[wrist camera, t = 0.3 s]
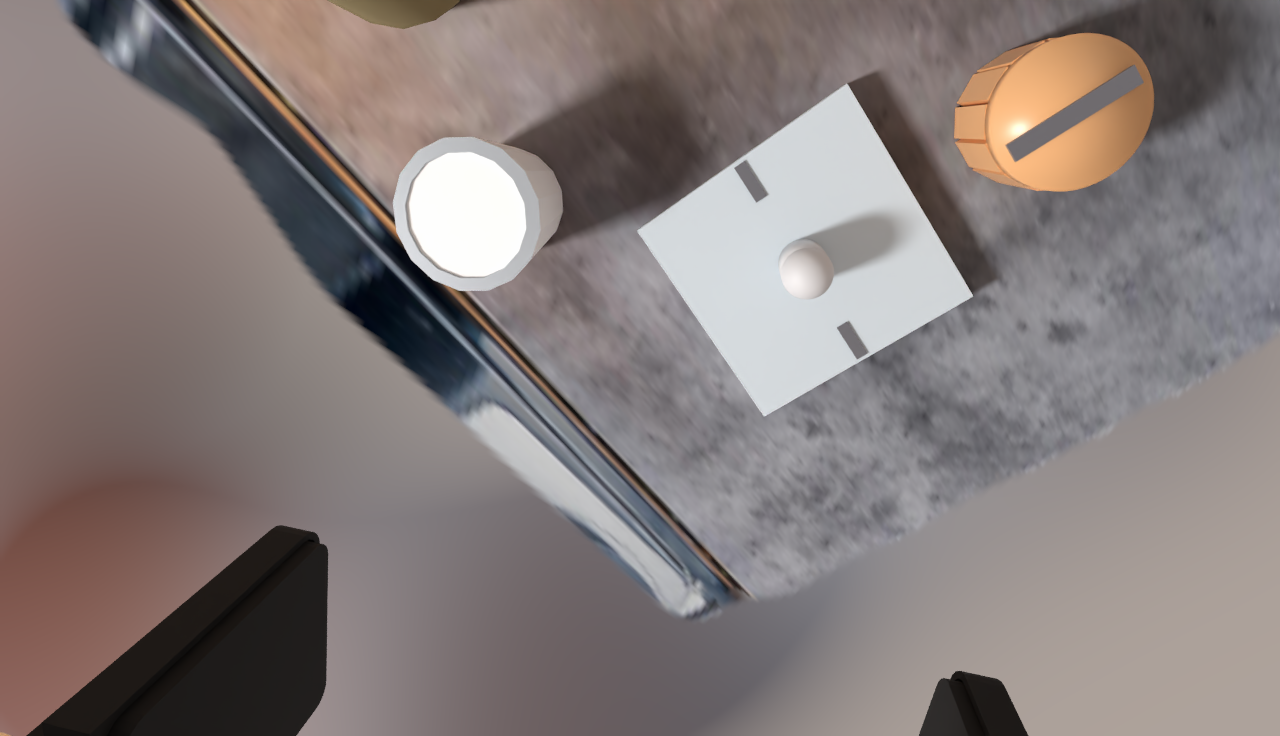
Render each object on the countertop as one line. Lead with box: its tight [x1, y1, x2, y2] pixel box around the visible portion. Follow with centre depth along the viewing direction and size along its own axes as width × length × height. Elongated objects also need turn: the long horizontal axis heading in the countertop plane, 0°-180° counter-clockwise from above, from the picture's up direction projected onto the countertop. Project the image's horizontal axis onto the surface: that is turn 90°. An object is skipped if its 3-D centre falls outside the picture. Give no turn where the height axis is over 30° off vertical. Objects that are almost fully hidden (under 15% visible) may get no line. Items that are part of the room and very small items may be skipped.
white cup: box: [393, 137, 563, 291], centre depth 35 cm, size 7×7×7 cm
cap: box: [954, 33, 1154, 191], centre depth 31 cm, size 6×6×6 cm
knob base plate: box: [637, 84, 973, 416], centre depth 35 cm, size 12×12×6 cm
